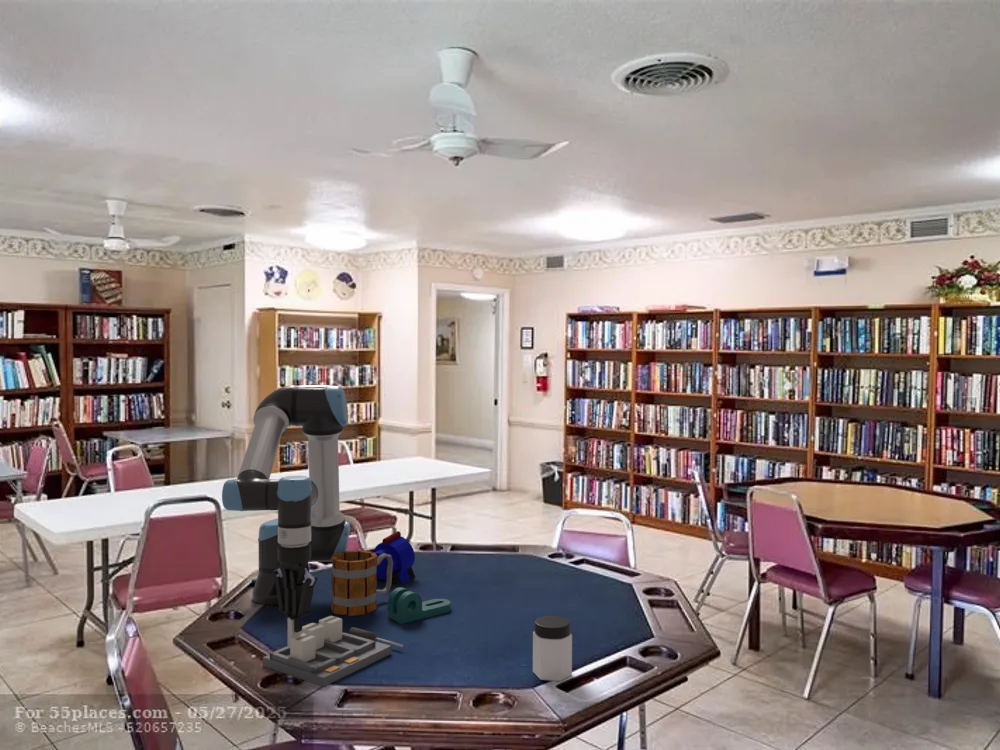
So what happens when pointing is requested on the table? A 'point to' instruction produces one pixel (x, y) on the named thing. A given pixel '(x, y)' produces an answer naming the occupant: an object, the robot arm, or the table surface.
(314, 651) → the small white box
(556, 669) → the jar
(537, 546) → the table surface
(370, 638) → the screwdriver
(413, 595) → the bracket
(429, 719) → the table surface
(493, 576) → the table surface
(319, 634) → the white grooved block
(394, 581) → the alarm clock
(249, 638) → the table surface
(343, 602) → the mug
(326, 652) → the switch bank
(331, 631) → the small white box
